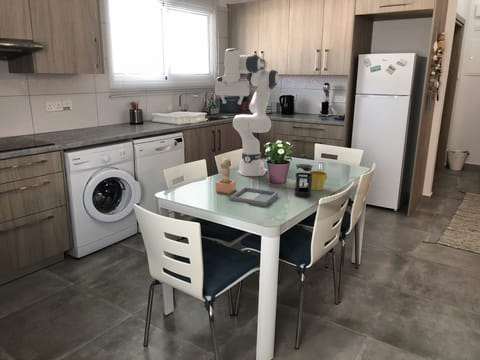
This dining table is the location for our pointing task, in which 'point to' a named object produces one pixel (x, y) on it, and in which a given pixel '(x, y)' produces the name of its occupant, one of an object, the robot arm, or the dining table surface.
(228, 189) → the salmon square socket block
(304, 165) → the french press
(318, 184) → the yellow cup
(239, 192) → the charcoal tray
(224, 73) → the robot arm
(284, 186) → the dining table surface
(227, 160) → the wooden block tower
